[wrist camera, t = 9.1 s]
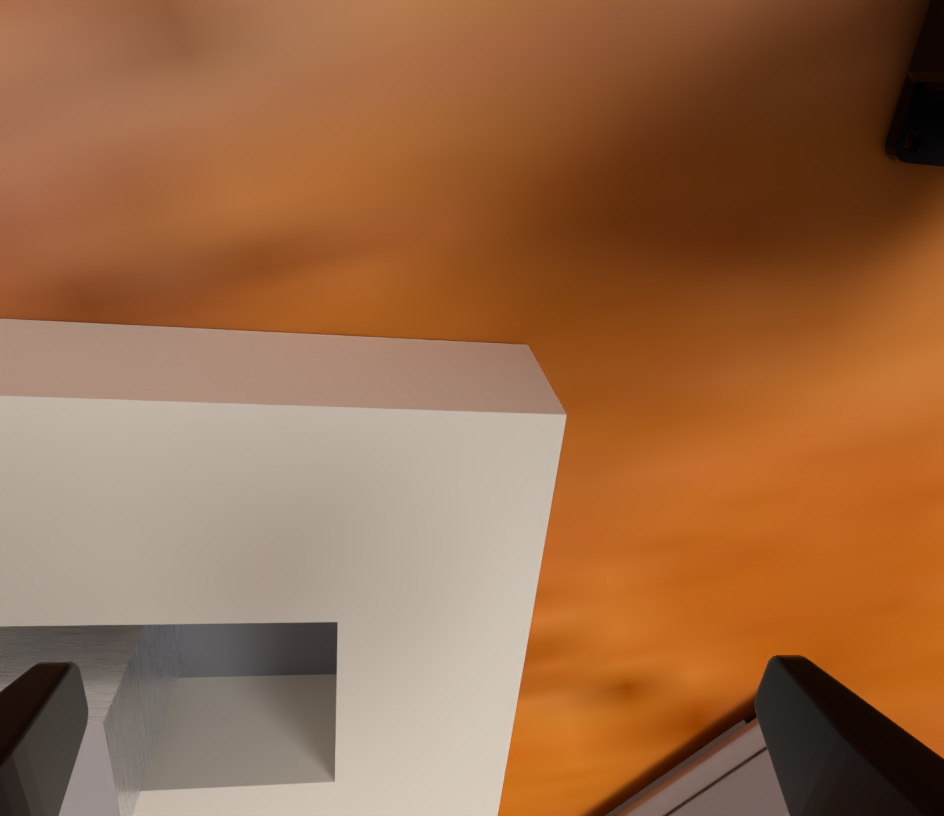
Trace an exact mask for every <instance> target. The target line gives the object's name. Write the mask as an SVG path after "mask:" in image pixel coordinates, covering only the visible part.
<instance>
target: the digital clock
mask: <svg viewBox="0 0 944 816" xmlns="http://www.w3.org/2000/svg"><path fill="white" fill-rule="evenodd" d="M605 816H790V815H789V812H788V810H787V807H786V804H785V801H784V798H783V795H782V792H781V789H780V786H779V783H778V780H777V777H776V774H775V771H774V768H773V765H772V762H771V759H770V756H769V753H768V750H767V747H766V743H765V740H764V737H763V734H762V731H761V728H760V725H759V722H758V719H757V717H756V718H755V719H753V720H752V721H750V722H749V723H747V722H746V721H745V720H744V719H743V720H742V721H740V722H739V723H737V724H736V725H734V726H733V727H732V728H730V729H729V730H727V731H726V732H724V733H723V734H721V735H720V736H719V737H717V738H716V739H714V740H713V741H711V742H710V743H708V744H707V745H706V746H704V747H703V748H701V749H700V750H698V751H697V752H696V753H694V754H693V755H691V756H690V757H688V758H687V759H685V760H684V761H683V762H681V763H680V764H678V765H677V766H675V767H674V768H673V769H671V770H670V771H668V772H667V773H665V774H664V775H662V776H661V777H660V778H658V779H657V780H655V781H654V782H652V783H651V784H650V785H648V786H647V787H645V788H644V789H642V790H641V791H639V792H638V793H637V794H635V795H634V796H632V797H631V798H629V799H628V800H627V801H625V802H624V803H622V804H621V805H619V806H618V807H616V808H615V809H614V810H612V811H611V812H609V813H608V814H606V815H605Z"/></svg>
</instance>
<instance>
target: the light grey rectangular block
mask: <svg viewBox="0 0 944 816" xmlns="http://www.w3.org/2000/svg"><path fill="white" fill-rule="evenodd" d="M185 654H186V653H185V644H184V635H183V626H182V624H152V625H76V626H1V627H0V691H1V690H3V689H4V688H5V687H6V686H8V685H9V684H10V683H12V682H13V681H14V680H15V679H17V678H18V677H19V676H20V675H22V674H23V673H24V672H25V671H27V670H28V669H29V668H31V667H32V666H33V665H35V664H37V663H39V662H42V661H73V662H75V663H77V665H78V666H79V669H80V672H81V677H82V681H83V686H84V690H85V695H86V699H87V704H88V721H87V726H86V730H85V733H84V736H83V740H82V743H81V746H80V749H79V752H78V756H77V759H76V762H75V765H74V768H73V772H72V775H71V778H70V781H69V784H68V788H67V791H66V794H65V797H64V800H63V804H62V807H61V810H60V813H59V816H132V815H133V812H134V809H135V806H136V803H137V800H138V797H139V794H140V791H141V788H142V785H143V782H144V779H145V776H146V773H147V770H148V767H149V764H150V761H151V758H152V754H153V751H154V748H155V745H156V742H157V739H158V736H159V733H160V730H161V727H162V724H163V721H164V718H165V715H166V712H167V709H168V706H169V703H170V700H171V697H172V694H173V691H174V688H175V685H176V682H177V679H178V676H179V673H180V670H181V666H182V663H183V660H184V657H185Z"/></svg>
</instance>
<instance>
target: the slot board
mask: <svg viewBox="0 0 944 816" xmlns="http://www.w3.org/2000/svg"><path fill="white" fill-rule="evenodd" d="M566 417H567V414H566V412H565V411H564V409H563V407H562V405H561V403H560V402H559V400H558V398H557V396H556V394H555V393H554V391H553V389H552V387H551V385H550V384H549V382H548V380H547V378H546V376H545V375H544V373H543V371H542V369H541V367H540V366H539V364H538V362H537V360H536V358H535V357H534V355H533V353H532V351H531V349H530V348H529V346H528V345H527V344H506V343H486V342H466V341H445V340H425V339H405V338H385V337H364V336H344V335H324V334H303V333H283V332H263V331H242V330H222V329H202V328H181V327H161V326H141V325H121V324H100V323H80V322H60V321H39V320H19V319H0V627H1V626H76V625H152V624H182V626H183V635H184V644H185V653H186V654H185V657H184V660H183V663H182V666H181V670H180V673H179V676H178V679H177V682H176V685H175V688H174V691H173V694H172V697H171V700H170V703H169V706H168V709H167V712H166V715H165V718H164V721H163V724H162V727H161V730H160V733H159V736H158V739H157V742H156V745H155V748H154V751H153V754H152V758H151V761H150V764H149V767H148V770H147V773H146V776H145V779H144V782H143V785H142V788H141V791H140V794H139V797H138V800H137V803H136V806H135V809H134V812H133V815H132V816H497V815H498V810H499V804H500V798H501V792H502V787H503V781H504V775H505V769H506V763H507V758H508V752H509V746H510V740H511V735H512V729H513V723H514V717H515V711H516V706H517V700H518V694H519V688H520V683H521V677H522V671H523V665H524V659H525V654H526V648H527V642H528V636H529V630H530V625H531V619H532V613H533V607H534V602H535V596H536V590H537V584H538V578H539V573H540V567H541V561H542V555H543V550H544V544H545V538H546V532H547V526H548V521H549V515H550V509H551V503H552V497H553V492H554V486H555V480H556V474H557V469H558V463H559V457H560V451H561V445H562V440H563V434H564V428H565V422H566Z"/></svg>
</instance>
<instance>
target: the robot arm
mask: <svg viewBox="0 0 944 816" xmlns="http://www.w3.org/2000/svg"><path fill="white" fill-rule="evenodd" d="M908 70H909V71H908V74H907V77H906V80H905V83H904V86H903V89H902V92H901V95H900V99H899V102H898V105H897V108H896V111H895V114H894V117H893V120H892V123H891V126H890V129H889V132H888V135H887V138H886V143H885V151H886V154H887V156H888V157H889V158H890V159H892V160H895V161H899V162H904V163H913V164H923V165H933V166H943V167H944V0H931V1H930V4H929V7H928V11H927V14H926V17H925V20H924V23H923V26H922V29H921V32H920V35H919V38H918V41H917V44H916V47H915V50H914V53H913V56H912V59H911V62H910V65H909V69H908ZM910 134H911V135H912V143H911V144H910V146H909V147H908V148H907V149H906V150H905V148H904V143H905V140H906V138H907V137H908V136H909V135H910ZM755 712H756V716H757V719H758V722H759V725H760V728H761V731H762V734H763V737H764V740H765V743H766V747H767V750H768V753H769V756H770V759H771V762H772V765H773V768H774V771H775V774H776V777H777V780H778V783H779V786H780V789H781V792H782V795H783V798H784V801H785V804H786V807H787V810H788V812H789V815H790V816H944V759H943V758H942V757H941V756H939V755H938V754H937V753H935V752H934V751H932V750H931V749H930V748H928V747H927V746H926V745H924V744H923V743H922V742H920V741H919V740H917V739H916V738H915V737H913V736H912V735H911V734H909V733H908V732H907V731H905V730H904V729H902V728H901V727H900V726H898V725H897V724H896V723H894V722H893V721H892V720H890V719H889V718H888V717H886V716H885V715H883V714H882V713H881V712H879V711H878V710H877V709H875V708H874V707H873V706H871V705H870V704H868V703H867V702H866V701H864V700H863V699H862V698H860V697H859V696H858V695H856V694H855V693H854V692H852V691H851V690H849V689H848V688H847V687H845V686H844V685H843V684H841V683H840V682H839V681H837V680H836V679H834V678H833V677H832V676H830V675H829V674H828V673H826V672H825V671H824V670H822V669H821V668H820V667H818V666H817V665H815V664H814V663H813V662H811V661H810V660H808V659H807V658H805V657H803V656H800V655H776V656H773V657H772V658H771V659H770V660H769V662H768V664H767V667H766V669H765V672H764V674H763V677H762V680H761V682H760V685H759V687H758V690H757V693H756V696H755ZM87 721H88V704H87V699H86V695H85V690H84V686H83V681H82V677H81V672H80V669H79V666H78V665H77V663H75V662H73V661H42V662H39V663H37V664H35V665H33V666H32V667H31V668H29V669H28V670H27V671H25V672H24V673H23V674H22V675H20V676H19V677H18V678H17V679H15V680H14V681H13V682H12V683H10V684H9V685H8V686H6V687H5V688H4V689H3V690H1V691H0V816H59V813H60V810H61V807H62V804H63V800H64V797H65V794H66V791H67V788H68V784H69V781H70V778H71V775H72V772H73V768H74V765H75V762H76V759H77V756H78V752H79V749H80V746H81V743H82V740H83V736H84V733H85V730H86V726H87Z"/></svg>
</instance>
